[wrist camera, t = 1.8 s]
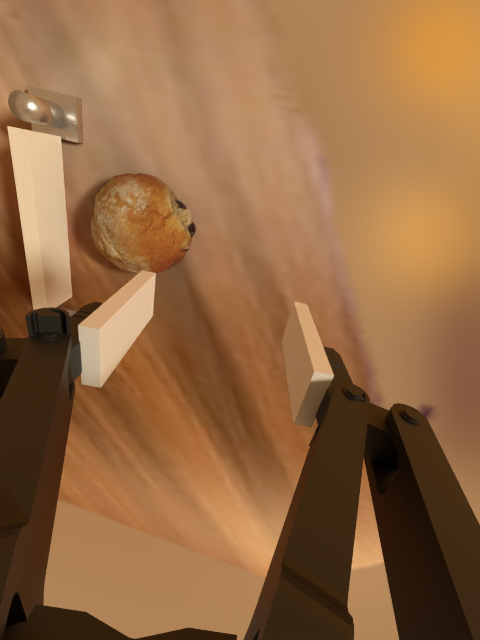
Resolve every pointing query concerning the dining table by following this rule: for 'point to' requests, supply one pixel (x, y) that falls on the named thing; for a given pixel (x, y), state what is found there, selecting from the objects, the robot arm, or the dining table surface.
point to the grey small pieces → (50, 119)
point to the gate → (42, 214)
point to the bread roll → (141, 224)
